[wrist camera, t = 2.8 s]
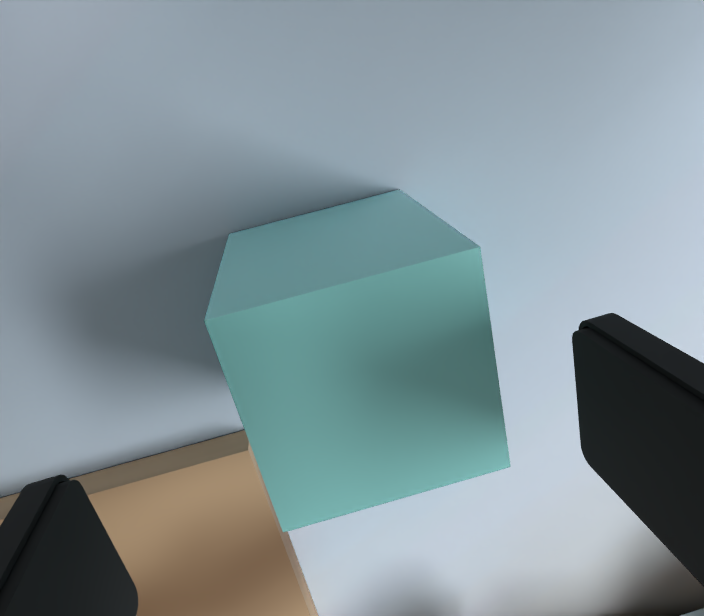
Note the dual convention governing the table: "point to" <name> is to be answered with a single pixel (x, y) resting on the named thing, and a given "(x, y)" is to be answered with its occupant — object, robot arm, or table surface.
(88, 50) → the table surface
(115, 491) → the stand
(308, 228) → the teal block
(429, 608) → the table surface
